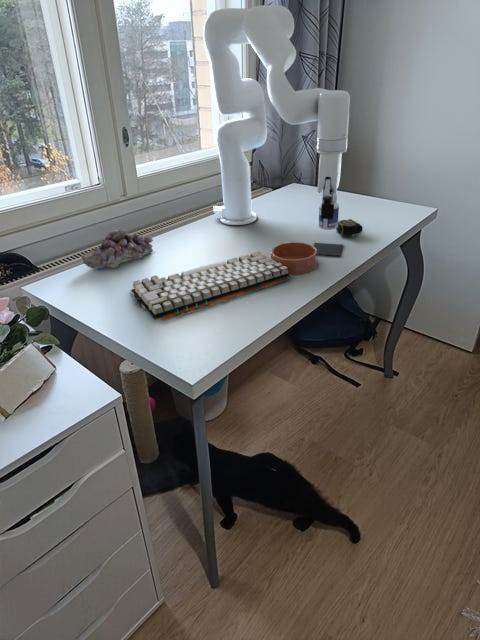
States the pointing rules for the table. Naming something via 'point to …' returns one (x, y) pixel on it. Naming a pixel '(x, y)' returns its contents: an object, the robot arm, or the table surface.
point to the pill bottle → (329, 223)
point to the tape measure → (348, 227)
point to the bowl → (295, 256)
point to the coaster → (328, 249)
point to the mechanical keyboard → (207, 285)
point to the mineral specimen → (118, 250)
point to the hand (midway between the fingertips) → (328, 214)
